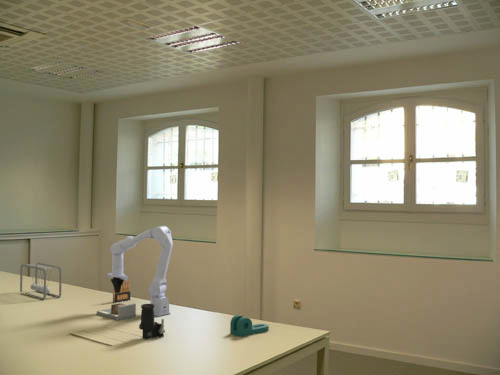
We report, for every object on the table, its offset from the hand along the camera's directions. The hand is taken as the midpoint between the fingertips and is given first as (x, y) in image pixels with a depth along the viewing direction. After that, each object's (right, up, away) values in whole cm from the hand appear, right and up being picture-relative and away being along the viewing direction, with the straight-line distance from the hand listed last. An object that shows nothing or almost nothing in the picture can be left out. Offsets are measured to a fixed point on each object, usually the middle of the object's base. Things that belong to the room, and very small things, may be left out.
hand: (117, 292), depth 274 cm
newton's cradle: (-55, -10, +38) cm, 67 cm away
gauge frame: (+2, -9, -11) cm, 15 cm away
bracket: (+69, -10, -39) cm, 80 cm away
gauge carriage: (+3, -7, -13) cm, 15 cm away
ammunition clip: (-3, -10, +24) cm, 26 cm away
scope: (+26, -9, -50) cm, 57 cm away
